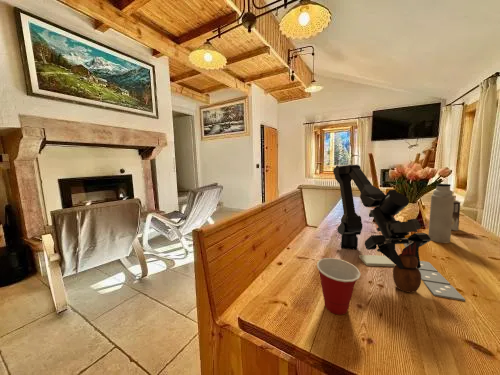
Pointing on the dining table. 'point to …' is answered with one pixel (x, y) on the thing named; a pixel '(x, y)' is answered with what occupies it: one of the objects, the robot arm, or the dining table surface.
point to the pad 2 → (433, 277)
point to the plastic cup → (337, 283)
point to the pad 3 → (444, 291)
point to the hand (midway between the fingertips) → (410, 268)
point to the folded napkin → (376, 260)
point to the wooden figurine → (407, 271)
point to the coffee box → (455, 216)
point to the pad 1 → (426, 266)
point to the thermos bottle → (441, 214)
